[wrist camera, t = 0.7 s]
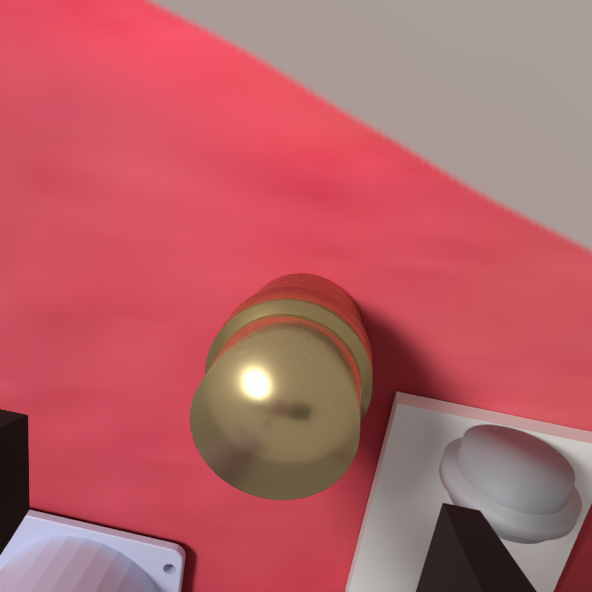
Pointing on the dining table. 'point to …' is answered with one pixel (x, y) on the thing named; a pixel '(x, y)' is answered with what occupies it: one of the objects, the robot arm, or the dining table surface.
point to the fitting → (472, 490)
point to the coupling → (285, 390)
